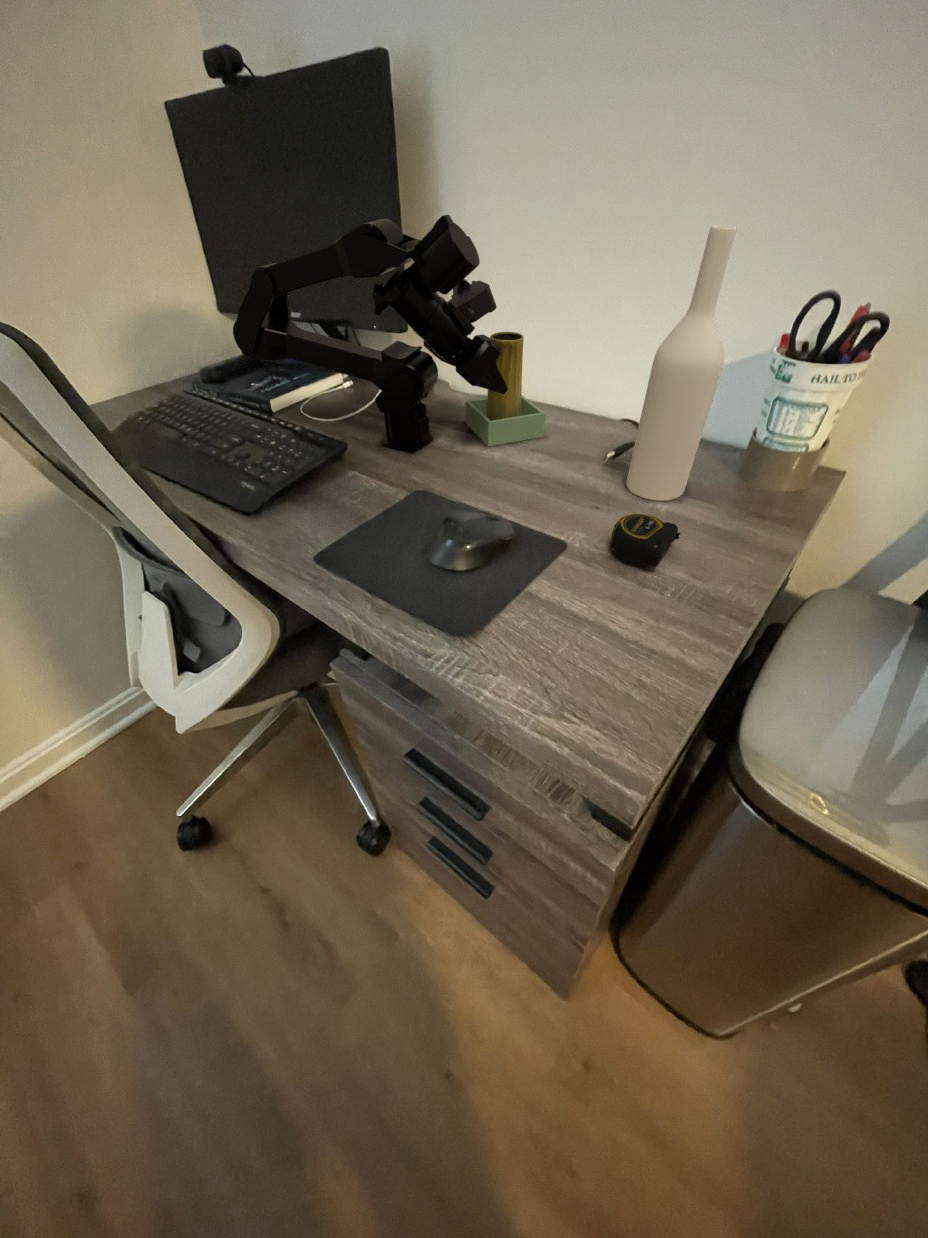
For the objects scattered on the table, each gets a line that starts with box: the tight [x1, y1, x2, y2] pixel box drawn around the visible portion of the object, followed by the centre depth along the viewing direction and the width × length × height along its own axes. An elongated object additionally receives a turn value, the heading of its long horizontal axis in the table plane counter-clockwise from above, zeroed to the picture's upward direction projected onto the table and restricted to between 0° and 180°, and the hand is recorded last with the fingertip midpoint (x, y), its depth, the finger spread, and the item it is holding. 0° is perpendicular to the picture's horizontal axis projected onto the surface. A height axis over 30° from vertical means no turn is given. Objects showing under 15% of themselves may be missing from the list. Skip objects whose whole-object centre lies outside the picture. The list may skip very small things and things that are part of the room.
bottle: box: [625, 224, 738, 502], centre depth 64 cm, size 8×8×30 cm
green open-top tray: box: [465, 394, 546, 447], centre depth 88 cm, size 10×10×4 cm
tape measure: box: [610, 513, 682, 568], centre depth 61 cm, size 7×7×4 cm
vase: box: [486, 331, 525, 421], centre depth 84 cm, size 6×6×14 cm
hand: (493, 382), depth 84 cm, fingers open, 9 cm apart
